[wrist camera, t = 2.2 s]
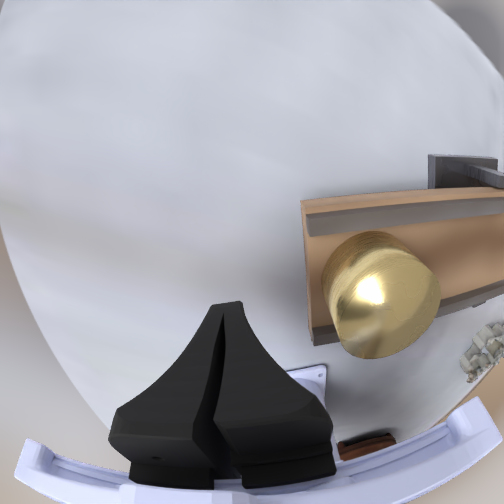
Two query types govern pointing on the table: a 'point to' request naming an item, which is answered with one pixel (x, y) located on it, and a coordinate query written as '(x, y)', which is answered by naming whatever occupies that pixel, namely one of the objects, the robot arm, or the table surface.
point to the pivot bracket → (463, 173)
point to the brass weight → (378, 294)
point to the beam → (412, 242)
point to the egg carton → (473, 362)
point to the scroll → (365, 447)
